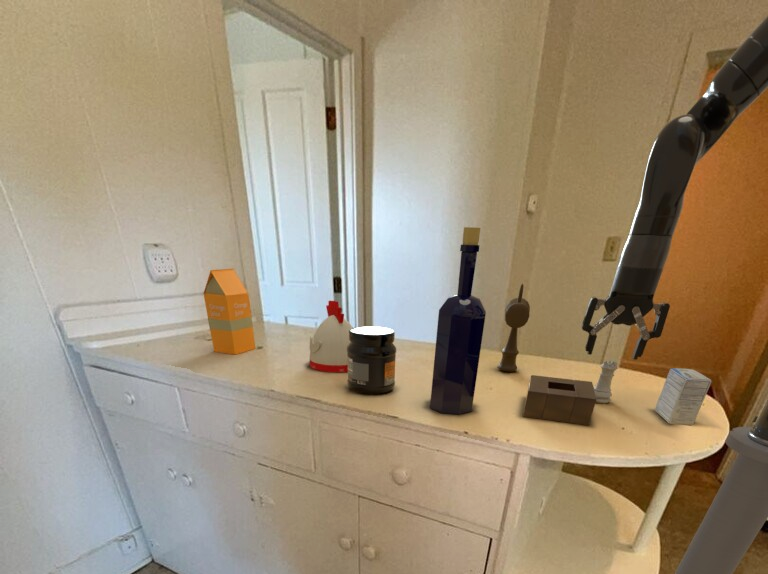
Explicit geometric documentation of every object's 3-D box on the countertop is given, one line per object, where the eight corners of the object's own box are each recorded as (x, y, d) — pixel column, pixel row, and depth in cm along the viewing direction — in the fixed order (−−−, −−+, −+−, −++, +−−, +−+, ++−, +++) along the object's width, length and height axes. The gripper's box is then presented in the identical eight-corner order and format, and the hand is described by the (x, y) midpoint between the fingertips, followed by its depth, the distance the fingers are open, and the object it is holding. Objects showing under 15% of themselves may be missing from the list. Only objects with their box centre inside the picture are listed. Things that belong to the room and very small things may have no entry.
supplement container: (402, 386, 96) (405, 329, 90) (380, 398, 88) (382, 337, 82) (362, 378, 100) (362, 324, 94) (338, 390, 92) (336, 331, 86)
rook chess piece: (608, 405, 89) (621, 366, 85) (586, 401, 91) (597, 362, 87) (611, 399, 92) (623, 361, 88) (589, 395, 94) (600, 358, 90)
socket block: (585, 405, 88) (592, 381, 86) (588, 425, 79) (596, 399, 76) (526, 398, 91) (531, 374, 89) (522, 416, 82) (528, 390, 79)
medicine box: (693, 426, 80) (713, 380, 75) (667, 424, 81) (686, 378, 76) (676, 412, 86) (694, 369, 82) (653, 410, 87) (670, 367, 82)
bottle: (464, 398, 90) (486, 228, 74) (481, 413, 83) (511, 228, 66) (422, 400, 88) (436, 226, 72) (436, 415, 81) (455, 226, 64)
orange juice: (256, 348, 123) (245, 269, 112) (235, 354, 116) (222, 271, 105) (234, 345, 126) (222, 267, 115) (213, 351, 119) (198, 269, 108)
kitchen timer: (348, 356, 118) (347, 296, 110) (373, 368, 108) (374, 303, 100) (301, 361, 112) (296, 298, 104) (323, 374, 102) (319, 306, 94)
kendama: (518, 367, 114) (535, 282, 103) (518, 376, 106) (536, 286, 95) (495, 364, 115) (509, 281, 104) (494, 374, 107) (509, 284, 96)
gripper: (601, 263, 77) (575, 356, 85) (689, 268, 73) (653, 365, 82) (597, 261, 83) (574, 348, 91) (679, 266, 79) (646, 356, 88)
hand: (611, 356), depth 87 cm, fingers open, 8 cm apart
